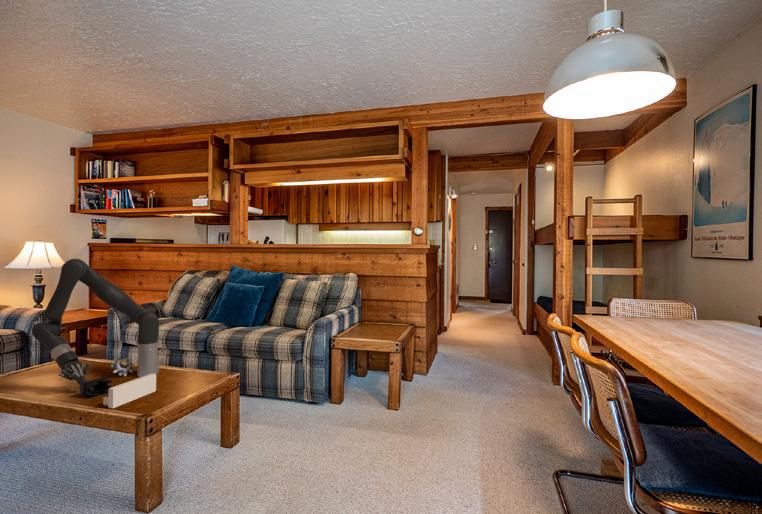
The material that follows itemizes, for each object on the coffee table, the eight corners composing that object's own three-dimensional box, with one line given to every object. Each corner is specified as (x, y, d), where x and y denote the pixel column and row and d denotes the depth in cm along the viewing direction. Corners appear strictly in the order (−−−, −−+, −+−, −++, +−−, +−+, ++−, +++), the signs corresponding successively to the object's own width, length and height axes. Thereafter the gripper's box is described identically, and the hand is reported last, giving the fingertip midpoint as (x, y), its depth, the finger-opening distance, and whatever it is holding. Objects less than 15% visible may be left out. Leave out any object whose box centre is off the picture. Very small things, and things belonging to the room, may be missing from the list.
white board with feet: (143, 389, 183) (143, 372, 183) (156, 390, 181) (156, 373, 181) (98, 406, 162) (99, 387, 162) (112, 408, 160) (113, 389, 160)
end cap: (102, 389, 182) (102, 375, 182) (112, 392, 179) (112, 377, 179) (79, 396, 173) (79, 381, 173) (89, 399, 170) (89, 383, 170)
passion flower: (124, 386, 203) (115, 372, 196) (109, 380, 206) (99, 366, 199) (142, 369, 211) (133, 355, 204) (127, 364, 215) (118, 350, 208)
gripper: (53, 354, 174) (74, 383, 171) (82, 347, 187) (102, 374, 184) (44, 364, 175) (64, 394, 172) (74, 357, 188) (93, 385, 185)
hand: (84, 384), depth 178 cm, fingers closed
